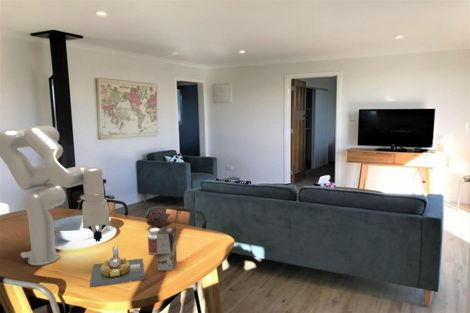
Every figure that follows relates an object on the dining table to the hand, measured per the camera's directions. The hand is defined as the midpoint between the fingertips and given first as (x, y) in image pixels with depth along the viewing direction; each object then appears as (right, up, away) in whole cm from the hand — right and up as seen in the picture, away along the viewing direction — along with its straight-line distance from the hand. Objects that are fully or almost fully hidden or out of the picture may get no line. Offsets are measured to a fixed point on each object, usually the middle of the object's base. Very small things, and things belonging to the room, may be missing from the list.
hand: (98, 240), depth 150 cm
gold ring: (+8, -11, -2) cm, 14 cm away
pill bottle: (+20, -10, +19) cm, 29 cm away
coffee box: (+28, -12, +5) cm, 31 cm away
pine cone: (+13, -5, +54) cm, 56 cm away
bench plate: (+9, -13, -3) cm, 16 cm away
